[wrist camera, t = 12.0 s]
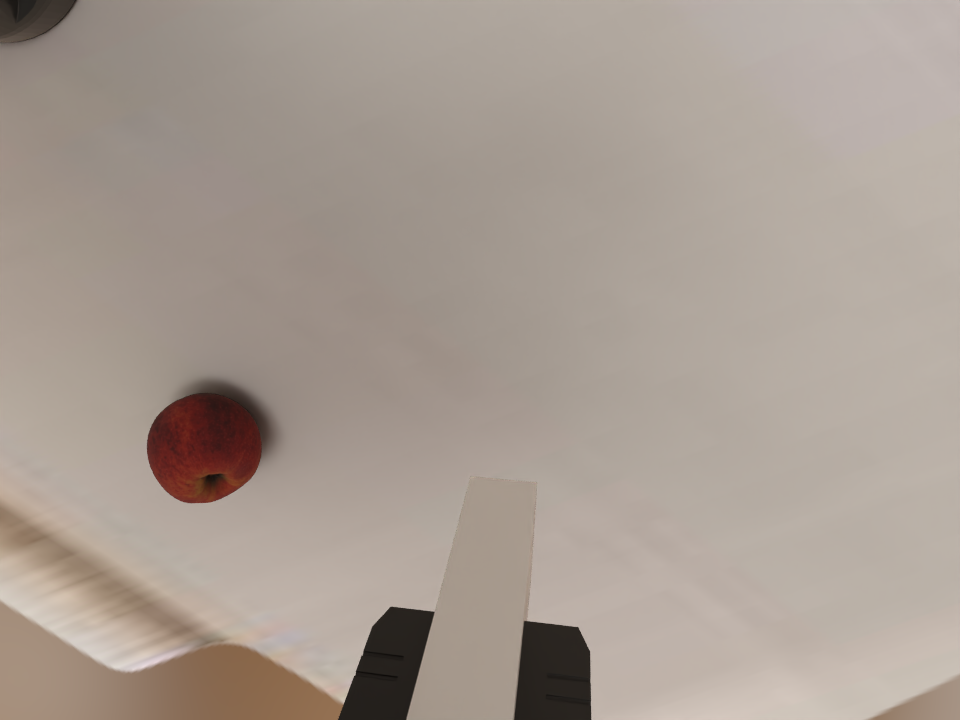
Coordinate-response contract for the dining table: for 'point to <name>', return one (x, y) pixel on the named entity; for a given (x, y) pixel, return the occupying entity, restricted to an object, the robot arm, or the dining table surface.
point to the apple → (203, 448)
